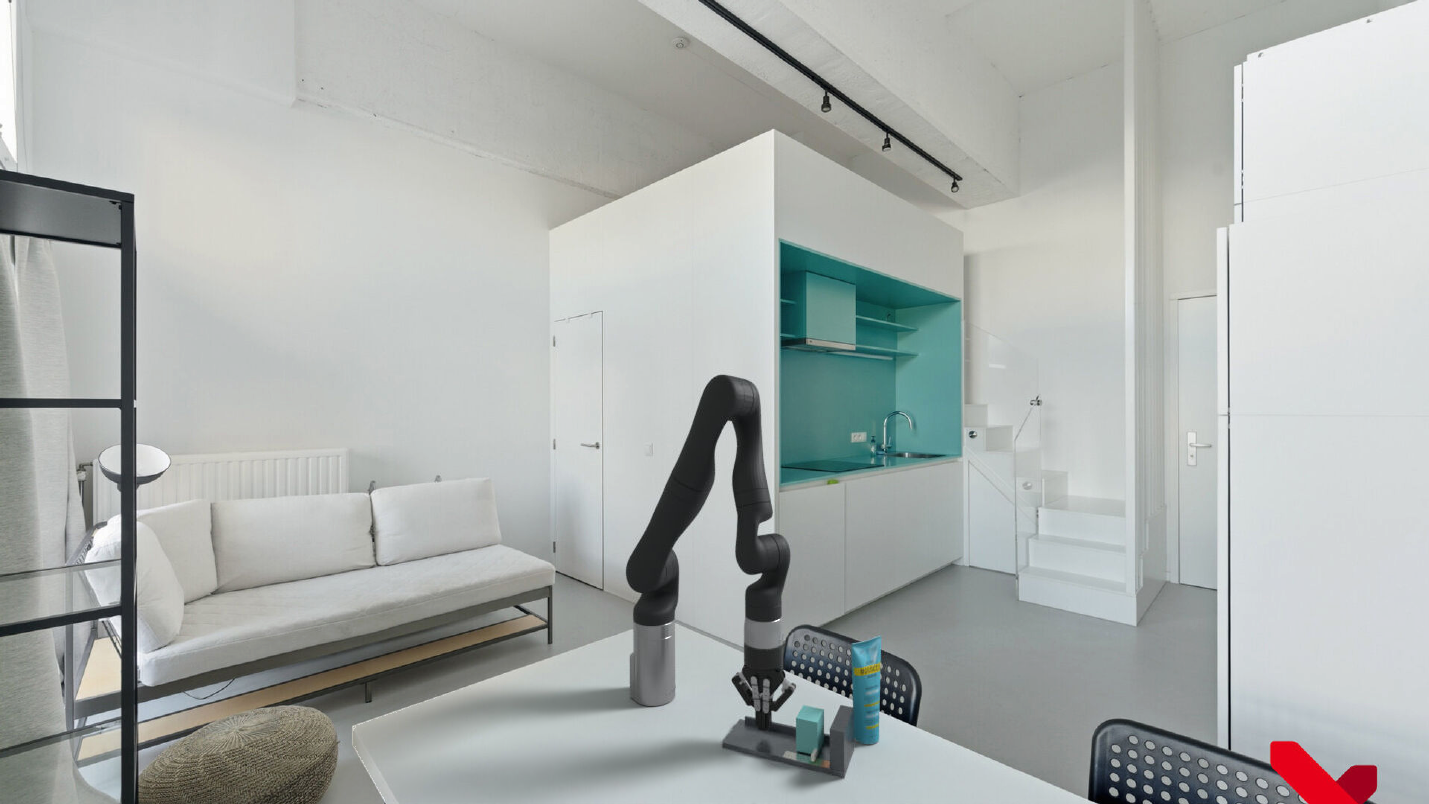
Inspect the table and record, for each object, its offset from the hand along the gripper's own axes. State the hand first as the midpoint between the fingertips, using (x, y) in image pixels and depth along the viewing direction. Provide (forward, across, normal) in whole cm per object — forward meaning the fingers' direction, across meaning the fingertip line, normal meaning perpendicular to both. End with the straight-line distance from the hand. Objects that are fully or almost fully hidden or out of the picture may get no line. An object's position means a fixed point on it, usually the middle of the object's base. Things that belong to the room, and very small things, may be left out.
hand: (763, 728), depth 115 cm
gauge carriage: (+1, +9, -1) cm, 9 cm away
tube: (+3, +18, +9) cm, 20 cm away
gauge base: (+2, +5, -1) cm, 6 cm away
